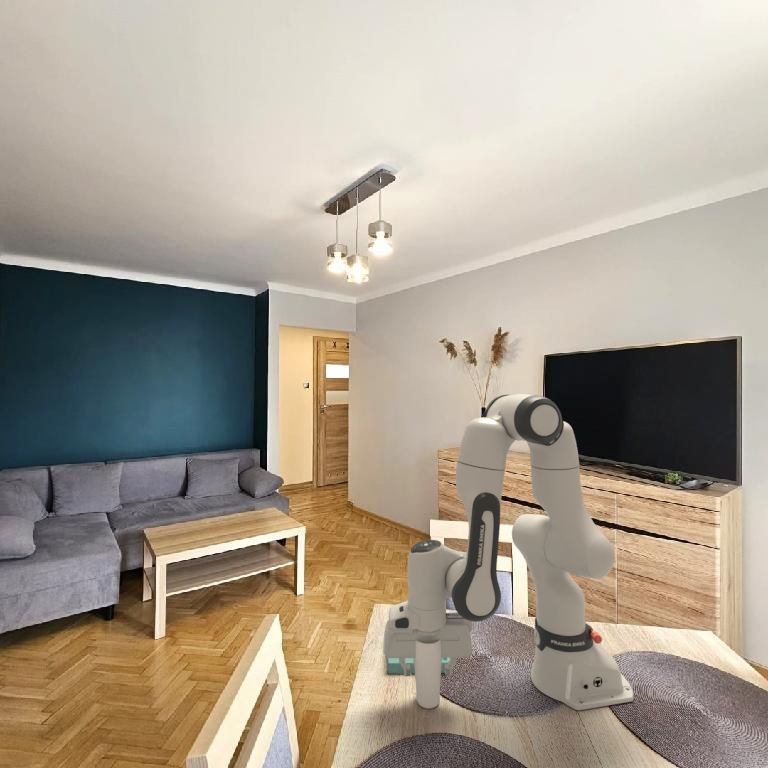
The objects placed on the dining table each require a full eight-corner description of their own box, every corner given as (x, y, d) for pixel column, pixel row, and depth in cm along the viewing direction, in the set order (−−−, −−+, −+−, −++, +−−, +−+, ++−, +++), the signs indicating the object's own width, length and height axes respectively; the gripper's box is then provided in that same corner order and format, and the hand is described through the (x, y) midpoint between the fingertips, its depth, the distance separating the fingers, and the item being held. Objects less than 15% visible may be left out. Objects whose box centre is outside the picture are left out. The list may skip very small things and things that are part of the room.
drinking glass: (442, 714, 96) (441, 645, 96) (411, 710, 97) (410, 642, 97) (444, 693, 103) (443, 629, 103) (415, 689, 104) (414, 626, 104)
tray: (443, 637, 126) (443, 628, 126) (451, 673, 110) (451, 662, 110) (387, 637, 126) (387, 628, 126) (388, 673, 110) (388, 663, 110)
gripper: (469, 606, 103) (470, 665, 103) (383, 607, 103) (383, 666, 103) (475, 620, 97) (475, 683, 97) (383, 621, 97) (383, 684, 97)
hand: (427, 674), depth 100 cm, fingers open, 8 cm apart
